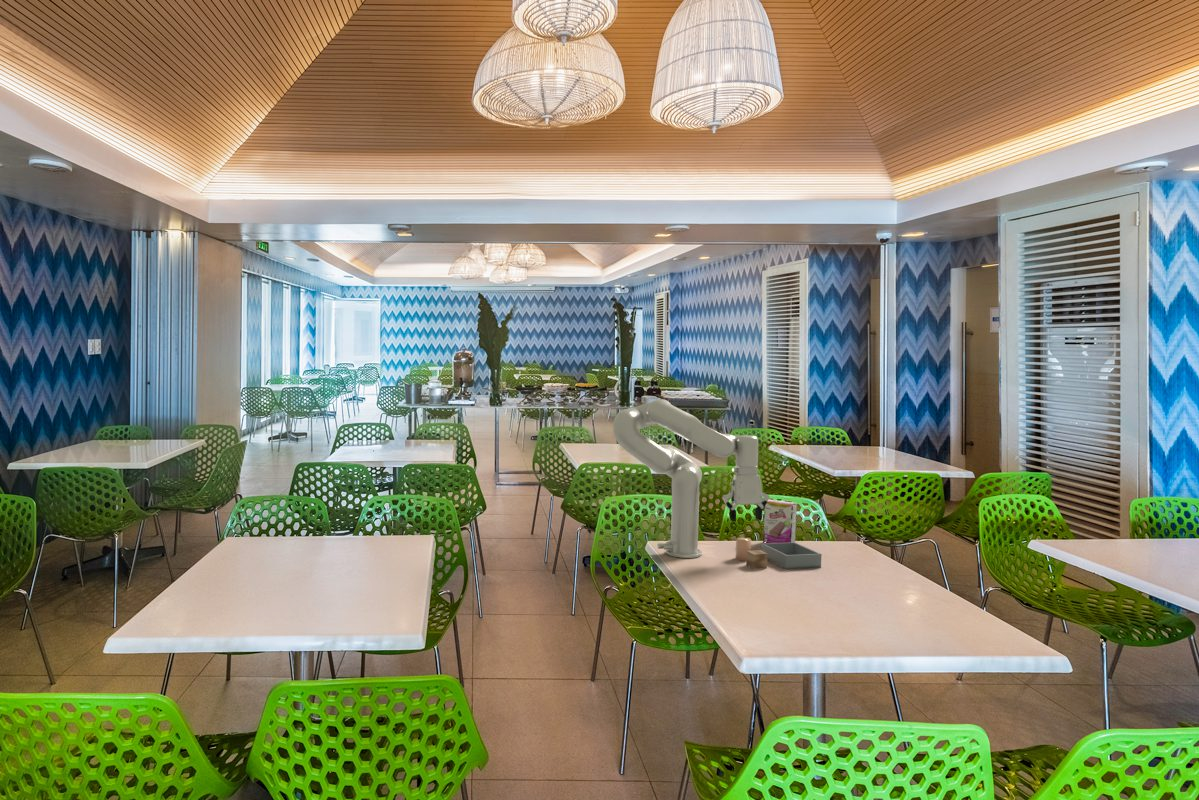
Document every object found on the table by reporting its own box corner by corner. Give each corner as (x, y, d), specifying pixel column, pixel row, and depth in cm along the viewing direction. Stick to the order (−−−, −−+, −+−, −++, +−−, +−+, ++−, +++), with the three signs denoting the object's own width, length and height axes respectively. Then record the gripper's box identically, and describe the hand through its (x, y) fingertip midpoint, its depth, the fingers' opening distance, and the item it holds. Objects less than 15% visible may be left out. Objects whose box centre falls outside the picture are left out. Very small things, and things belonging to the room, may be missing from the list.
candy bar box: (762, 543, 287) (764, 500, 286) (766, 541, 291) (768, 499, 291) (791, 548, 281) (792, 504, 280) (795, 545, 285) (797, 502, 285)
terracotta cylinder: (739, 561, 259) (740, 541, 259) (733, 557, 264) (733, 537, 264) (752, 560, 261) (753, 540, 260) (746, 557, 266) (746, 537, 265)
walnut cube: (753, 569, 250) (753, 554, 250) (746, 565, 255) (746, 550, 254) (766, 568, 251) (767, 553, 251) (759, 564, 256) (760, 550, 256)
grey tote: (785, 569, 251) (786, 555, 251) (761, 556, 267) (761, 543, 267) (820, 567, 254) (821, 554, 254) (794, 554, 271) (794, 542, 271)
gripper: (728, 473, 255) (727, 523, 256) (774, 471, 260) (773, 521, 260) (719, 470, 262) (718, 519, 263) (763, 469, 267) (763, 517, 268)
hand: (745, 520), depth 262 cm, fingers open, 9 cm apart
